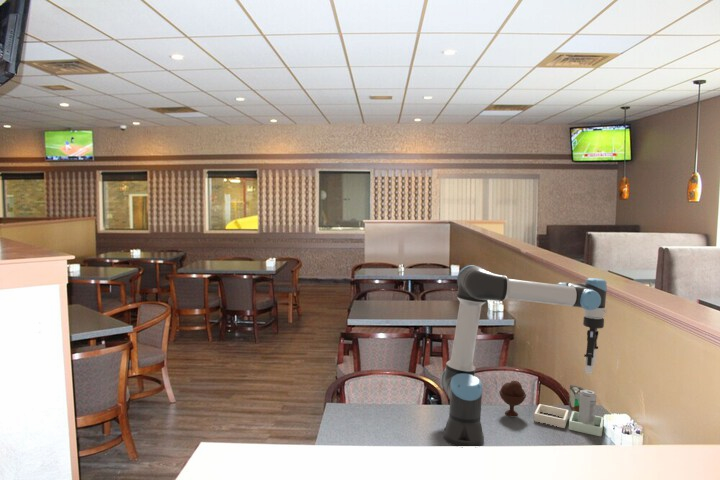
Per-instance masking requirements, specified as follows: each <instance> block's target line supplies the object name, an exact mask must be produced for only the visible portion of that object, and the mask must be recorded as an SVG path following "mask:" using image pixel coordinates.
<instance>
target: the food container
mask: <svg viewBox="0 0 720 480" xmlns="http://www.w3.org/2000/svg"><path fill="white" fill-rule="evenodd" d="M582 390H586V389H585V388H583V386H582V387H581V386H578V385H575V384H569V397H568V398H569V399H568V400H569V401H568V407H569V411H571V413H572V411H576V412H579V405H580V394H581V393H582Z"/></svg>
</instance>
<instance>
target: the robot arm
mask: <svg viewBox="0 0 720 480" xmlns="http://www.w3.org/2000/svg"><path fill="white" fill-rule="evenodd" d="M456 284H457V286H458V288H457V294H456V298H457V299H458V301H459V305H458V311H457V318H456V325H455V330H454V337H453V338H454V339H453V343H452V344H453V345H452V352H451V356H450V357H451V358H450V360H448V361H446V363H445V369H444V370H443V371H442V374H441V385H442V388H443V390H444V391H445V394H446V396H447V397H448V399H449V411H448V412H449V414H448V415H449V416H448V418H447V421H446V424H445V427H444V428H443V439H444V440H445V442H447V443H448V444H450V445H453V446H455V447H458V446H479V447H480V446H483V445H484V443H485V433H484V431H483V427H482V422H481V416H482V415H481V414H482V401H483V398H482V397H483V396H482V395H483V390H484V389H483V383H482V381H481V380H480V379H479V378H478V377H477V376H475V374H476V367H475V366H474V364H473V360H474V356H475V349H476V344H477V343H476V342H477V337H478V329H479V323H480V317H481V312H482V306H483V305H484V304H486V303H487V301H494V302H495V301H496V302H497V301H498V302H504V301H505V300H514V301H522V302H532V303H538V304H539V303H541V304H549V305H558V306H566V307H573V308H581V309H583V315H584V316H583V320H582V321H583V323H582V325H583V326H584V327H586V328H589V329H587V332H586V341H587V343H586V353H584V355H583V356H584V358H585V366H584V367H585V369H584V373H585V374H588V375H589V374H590V375H593V374H594V366H595V365H596V361H597V360H596V358H597V350H599V346H598V338H599V331H598V329H603V328H604V327H605V326H604V325H605V318H604V317H605V313H607V310H606V309H605V308H606V301H607V292H608V291H607V281H606V280H605V279H603V278H596V277H589V278H586V281H585V282H581V283H579V282H566V281H565V282H558V283H556V284H555V283H546V282H539V281H537V282H536V281H531V280H530V281H528V280H520V279H514V278H513V279H512V278H508V277H507V276H506V275H503V274H498V273H493V272H492V271H488V270H487V269H484V268H483V267H481V266H478V265H466V266H464V267H463V268H461V269H460V271H459V272H458V275H457V276H456Z"/></svg>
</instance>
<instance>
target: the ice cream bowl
mask: <svg viewBox="0 0 720 480" xmlns="http://www.w3.org/2000/svg"><path fill="white" fill-rule="evenodd" d="M499 396H500V398H501V400H502V401H504V403H505V404H506V405H508V406H509V409H508V410H506V411H505V412H504V414H505V416H507V417H511V416H517V417H518V416H519V414H518V412H517V411H515V407H516V406H519V405H521V404H522V403H523V402H524V401H525V399H526V397H527V394H526V391H525V390H524V388H523V387H522V384H521V382H519V381H517V380H511V381H510V382H505V383H504V384H502V386H501V388H500V390H499Z"/></svg>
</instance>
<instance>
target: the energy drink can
mask: <svg viewBox="0 0 720 480" xmlns="http://www.w3.org/2000/svg"><path fill="white" fill-rule="evenodd" d="M596 406H597V395H596V391H594V390H590V389H585V390H582V393H581V394H580V405H579V419H578V421H577V422H580V423H585V424H589V425H594V426H595V424H594V423H595V416H596V409H597V407H596Z"/></svg>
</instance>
